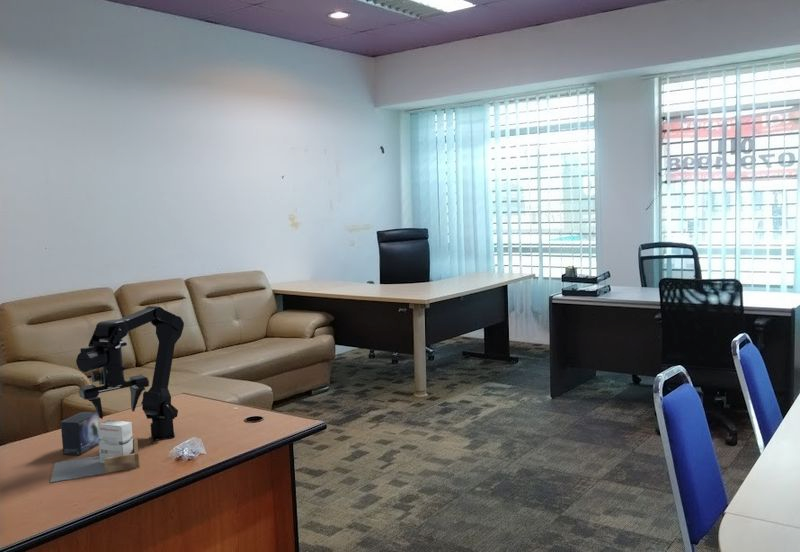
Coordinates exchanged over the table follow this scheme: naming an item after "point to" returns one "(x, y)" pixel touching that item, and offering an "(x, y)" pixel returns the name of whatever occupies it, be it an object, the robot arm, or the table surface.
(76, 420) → the small box
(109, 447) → the ink box
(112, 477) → the table surface
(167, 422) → the robot arm
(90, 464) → the felt pad
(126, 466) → the corral
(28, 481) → the table surface
